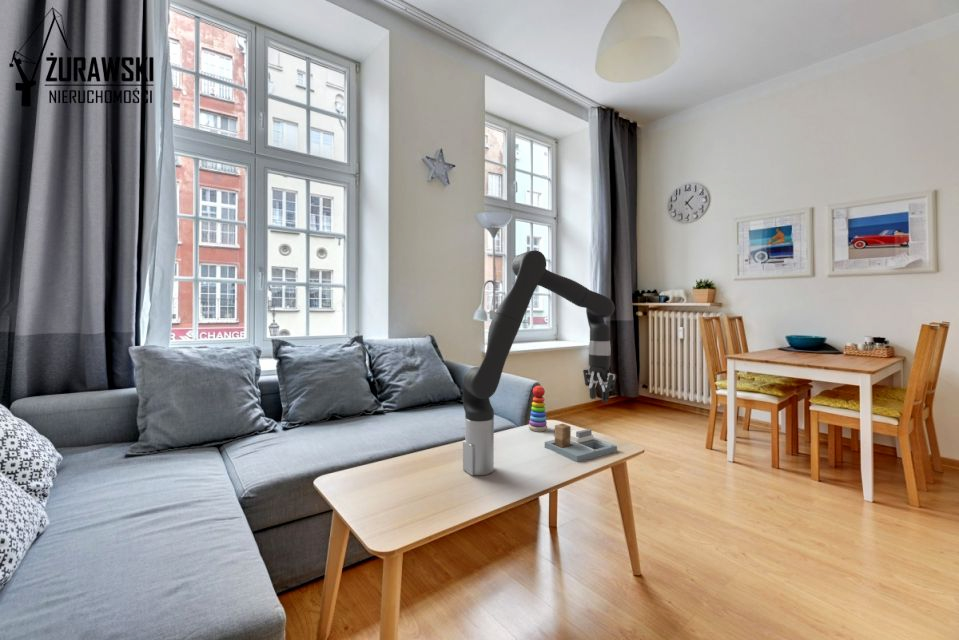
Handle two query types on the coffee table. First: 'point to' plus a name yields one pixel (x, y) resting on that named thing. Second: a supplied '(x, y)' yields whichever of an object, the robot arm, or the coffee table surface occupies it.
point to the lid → (581, 435)
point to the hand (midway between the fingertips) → (598, 399)
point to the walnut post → (562, 435)
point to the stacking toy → (538, 411)
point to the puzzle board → (582, 449)
